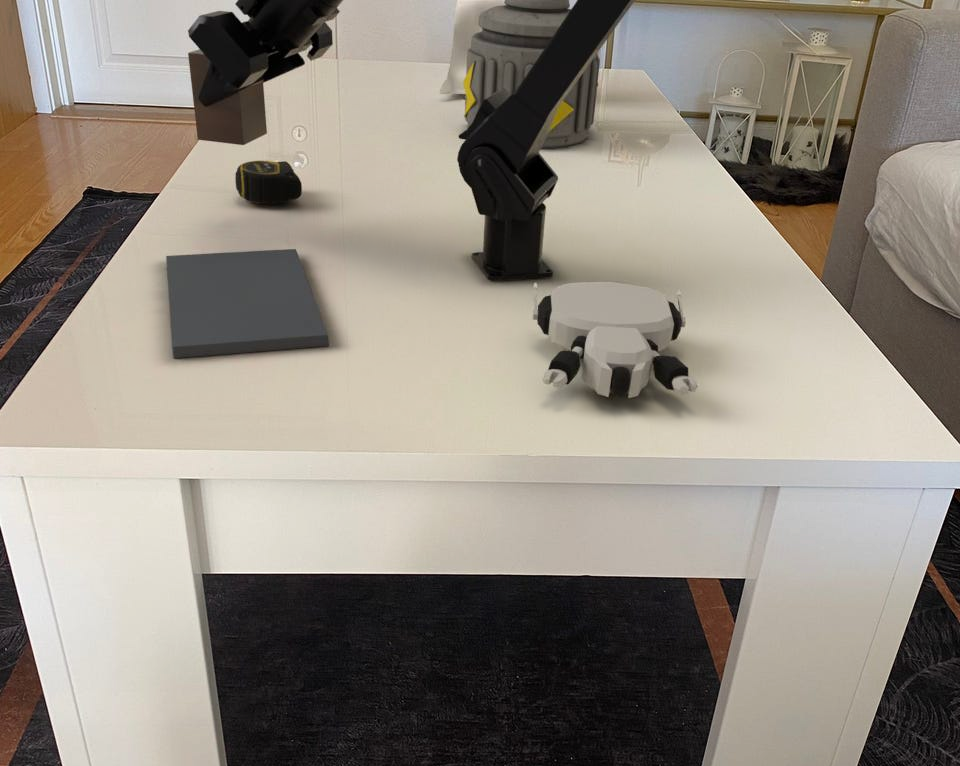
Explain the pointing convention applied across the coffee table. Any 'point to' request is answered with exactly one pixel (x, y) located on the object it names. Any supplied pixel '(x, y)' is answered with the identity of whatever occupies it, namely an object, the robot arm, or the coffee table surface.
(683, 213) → the coffee table surface
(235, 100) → the walnut block
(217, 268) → the grey mat
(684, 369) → the robot toy
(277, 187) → the tape measure
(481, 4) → the sculptural mask
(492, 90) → the grey ribbed canister
